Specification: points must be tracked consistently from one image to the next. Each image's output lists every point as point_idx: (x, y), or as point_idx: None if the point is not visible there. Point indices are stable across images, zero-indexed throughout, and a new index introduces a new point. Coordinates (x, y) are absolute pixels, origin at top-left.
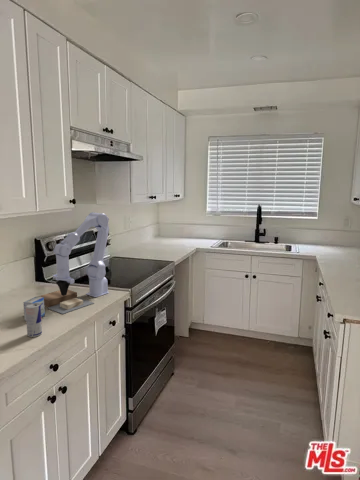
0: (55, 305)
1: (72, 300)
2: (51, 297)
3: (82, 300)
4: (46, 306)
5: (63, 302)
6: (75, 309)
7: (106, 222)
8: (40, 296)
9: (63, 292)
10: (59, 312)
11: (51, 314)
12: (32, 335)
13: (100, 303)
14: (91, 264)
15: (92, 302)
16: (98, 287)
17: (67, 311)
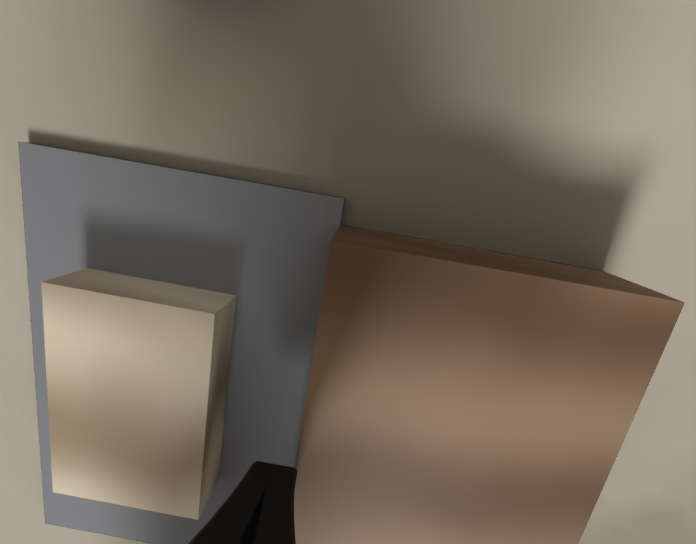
0: (313, 299)
1: (147, 440)
2: (419, 369)
3: (55, 486)
4: (404, 236)
5: (179, 341)
6: (33, 315)
7: None
8: (626, 325)
9: (226, 510)
10: (87, 153)
11: (134, 68)
12: None
13: (9, 536)
14: None
15: (60, 521)
16: None
17: (36, 221)
